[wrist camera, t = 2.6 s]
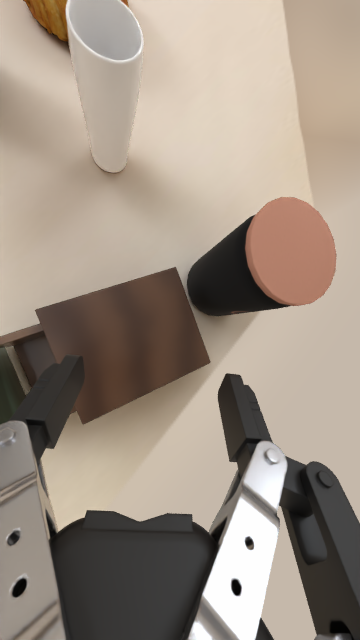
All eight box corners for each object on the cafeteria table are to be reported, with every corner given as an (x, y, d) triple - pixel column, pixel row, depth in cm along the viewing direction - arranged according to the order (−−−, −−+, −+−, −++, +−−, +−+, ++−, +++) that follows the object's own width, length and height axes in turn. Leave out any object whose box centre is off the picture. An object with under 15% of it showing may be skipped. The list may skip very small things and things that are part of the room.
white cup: (131, 183, 34) (143, 75, 19) (85, 173, 31) (61, 43, 17) (132, 143, 34) (146, 8, 20) (87, 130, 32) (66, -31, 18)
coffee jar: (207, 328, 36) (291, 328, 19) (172, 278, 35) (228, 228, 18) (248, 294, 39) (352, 267, 22) (217, 246, 38) (303, 177, 21)
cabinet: (92, 396, 30) (82, 425, 21) (59, 315, 30) (34, 309, 20) (185, 354, 35) (211, 362, 26) (159, 283, 34) (176, 266, 25)
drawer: (-13, 440, 26) (-64, 485, 18) (-51, 355, 25) (-121, 366, 18) (132, 375, 31) (137, 389, 24) (104, 304, 31) (101, 296, 23)
